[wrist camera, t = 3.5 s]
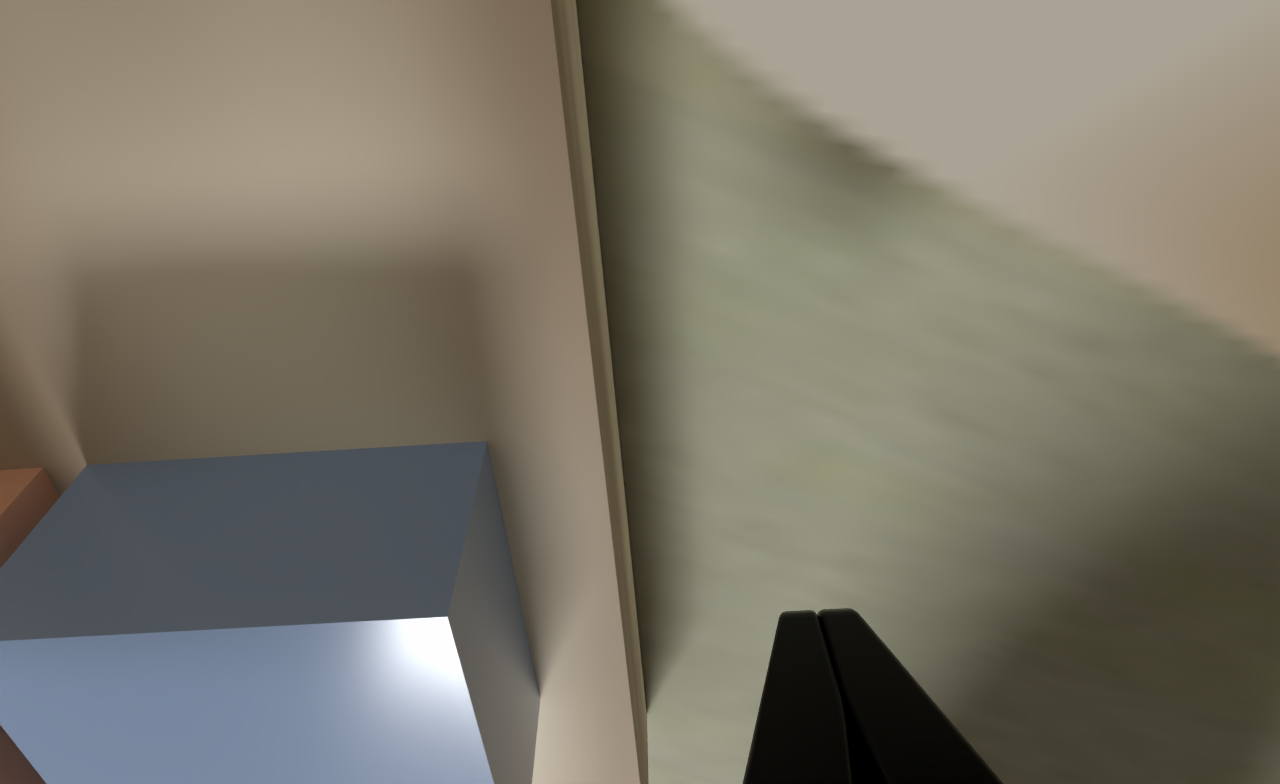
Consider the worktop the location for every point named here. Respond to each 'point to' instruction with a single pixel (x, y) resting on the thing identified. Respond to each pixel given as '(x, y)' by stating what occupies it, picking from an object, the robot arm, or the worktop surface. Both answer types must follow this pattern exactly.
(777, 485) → the worktop surface
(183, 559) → the blue-glazed tile
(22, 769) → the terracotta tile
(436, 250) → the birch board
